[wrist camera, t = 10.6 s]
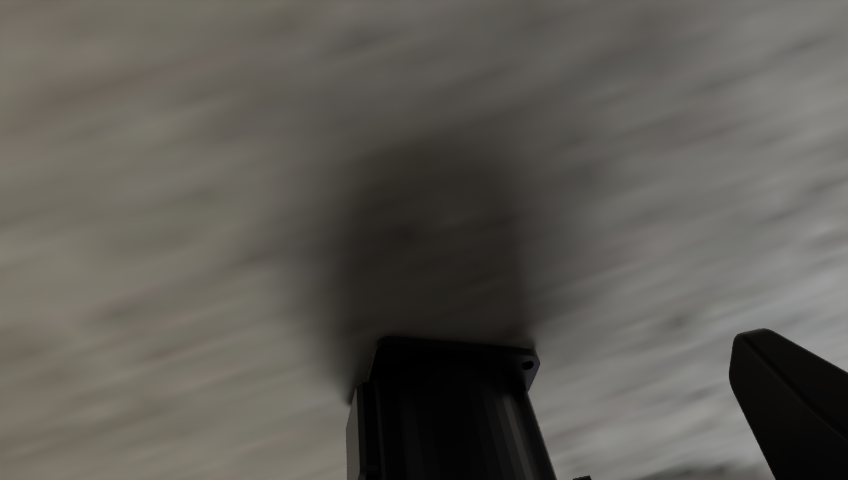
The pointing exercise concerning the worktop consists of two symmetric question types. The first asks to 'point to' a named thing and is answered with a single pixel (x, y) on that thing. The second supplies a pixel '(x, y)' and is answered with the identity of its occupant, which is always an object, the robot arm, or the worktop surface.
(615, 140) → the worktop surface
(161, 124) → the worktop surface
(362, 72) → the worktop surface
